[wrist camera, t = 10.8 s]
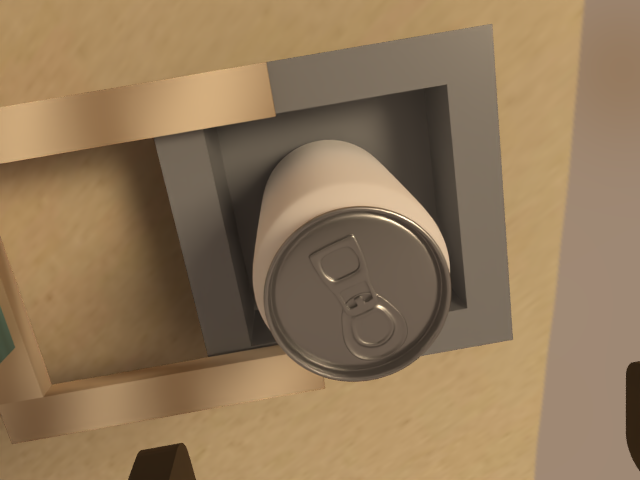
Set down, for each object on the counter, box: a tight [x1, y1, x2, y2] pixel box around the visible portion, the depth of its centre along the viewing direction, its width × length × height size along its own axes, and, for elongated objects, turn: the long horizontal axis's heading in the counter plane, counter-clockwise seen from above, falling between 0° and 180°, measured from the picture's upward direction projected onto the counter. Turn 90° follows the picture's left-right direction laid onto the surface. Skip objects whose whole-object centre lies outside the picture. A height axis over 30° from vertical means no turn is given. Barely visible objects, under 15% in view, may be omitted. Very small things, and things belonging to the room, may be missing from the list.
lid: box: [0, 62, 325, 444], centre depth 19 cm, size 14×14×12 cm
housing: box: [154, 24, 513, 357], centre depth 27 cm, size 14×14×5 cm
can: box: [253, 140, 451, 382], centre depth 23 cm, size 6×6×12 cm
